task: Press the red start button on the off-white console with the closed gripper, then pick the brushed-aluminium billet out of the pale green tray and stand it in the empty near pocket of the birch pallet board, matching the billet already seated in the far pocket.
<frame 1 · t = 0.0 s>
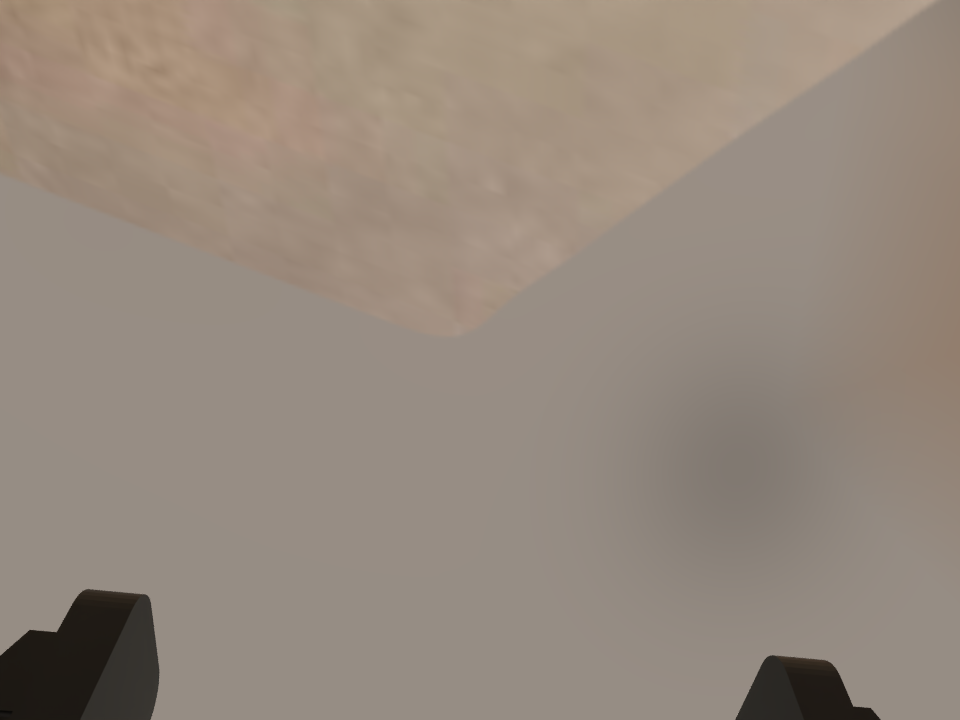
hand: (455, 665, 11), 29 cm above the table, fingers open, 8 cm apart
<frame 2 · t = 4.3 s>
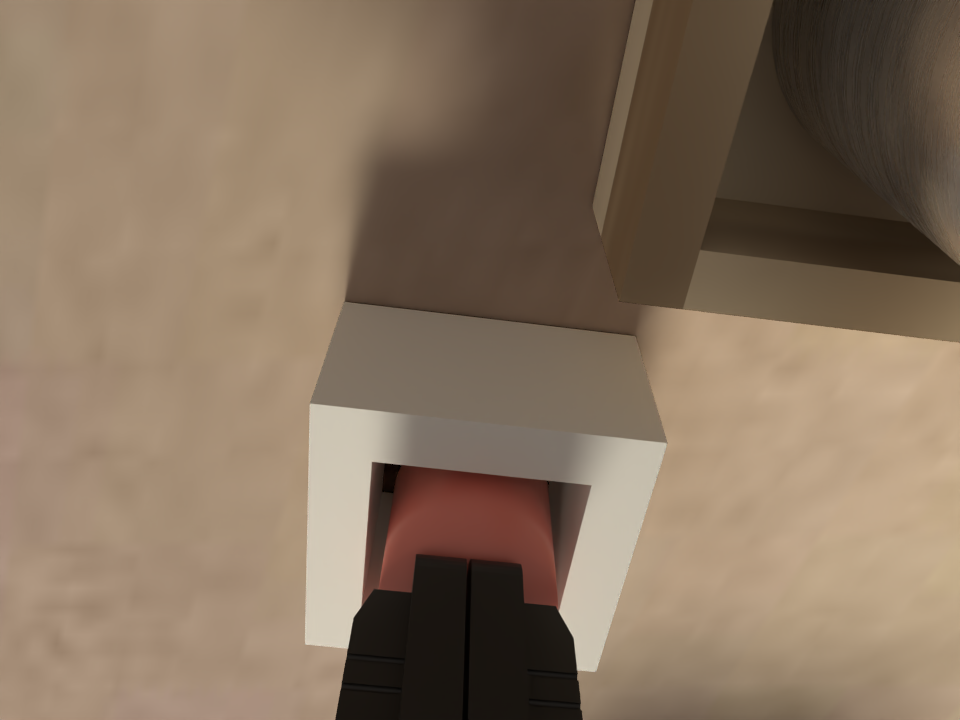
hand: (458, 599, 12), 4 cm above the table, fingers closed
console: (473, 435, 15), on the table
start button: (469, 545, 13), point 3 cm above the table, slide at 0.8 cm, touching gripper
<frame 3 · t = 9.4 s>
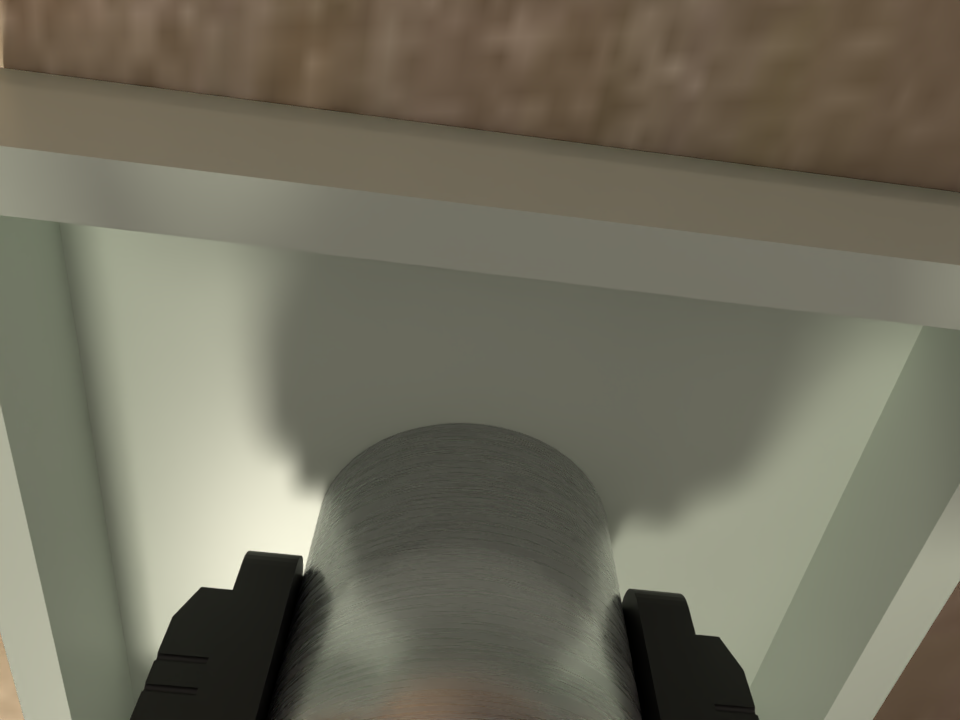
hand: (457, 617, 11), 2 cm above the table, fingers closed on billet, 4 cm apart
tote: (463, 512, 13), on the table
billet: (462, 539, 13), point 1 cm above the table, touching gripper, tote
when the fingers open (4 cm above the table, at t = 14.4 s): billet drops 1 cm, resting on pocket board.
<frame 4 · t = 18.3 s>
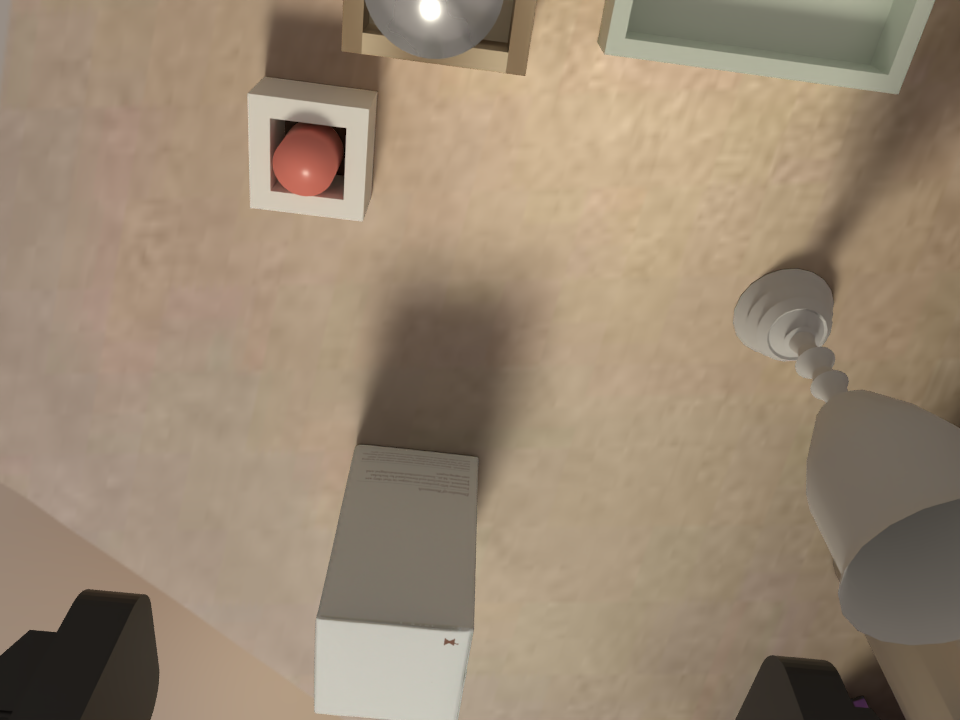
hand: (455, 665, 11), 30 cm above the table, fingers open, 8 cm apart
supplement box: (412, 493, 49), on the table
chalice: (781, 311, 42), on the table
console: (319, 139, 37), on the table
start button: (309, 157, 35), point 3 cm above the table, slide at 0.9 cm
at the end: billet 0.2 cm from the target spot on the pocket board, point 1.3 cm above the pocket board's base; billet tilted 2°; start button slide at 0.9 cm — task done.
